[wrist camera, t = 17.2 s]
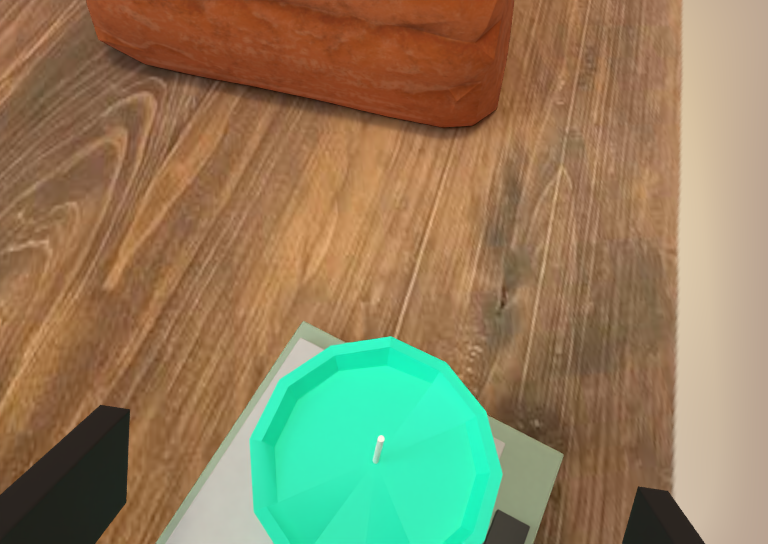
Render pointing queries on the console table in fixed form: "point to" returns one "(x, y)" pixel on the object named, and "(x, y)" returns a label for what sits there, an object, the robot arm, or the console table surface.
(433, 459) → the candle
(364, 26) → the bread
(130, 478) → the console table surface
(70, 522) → the robot arm
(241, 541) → the scale
